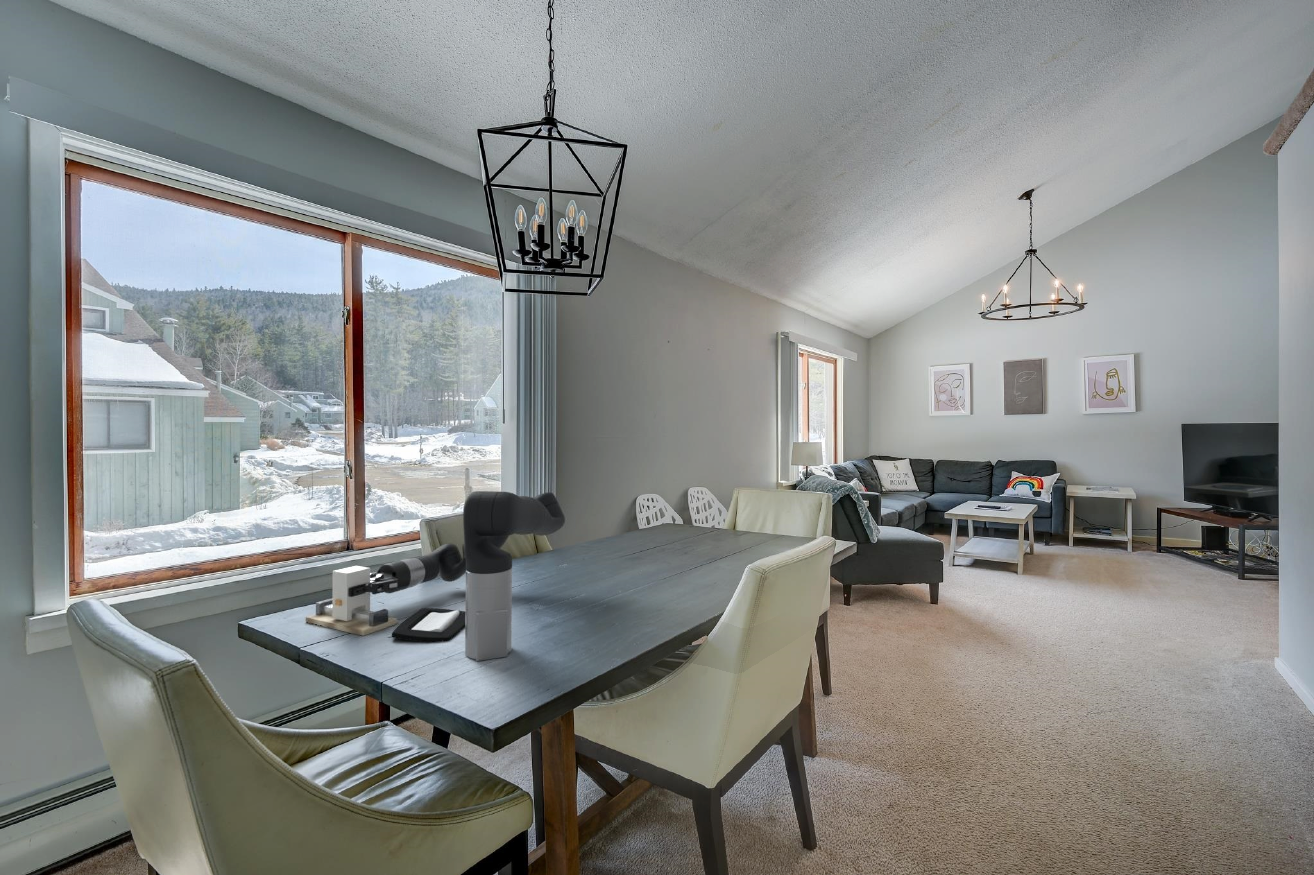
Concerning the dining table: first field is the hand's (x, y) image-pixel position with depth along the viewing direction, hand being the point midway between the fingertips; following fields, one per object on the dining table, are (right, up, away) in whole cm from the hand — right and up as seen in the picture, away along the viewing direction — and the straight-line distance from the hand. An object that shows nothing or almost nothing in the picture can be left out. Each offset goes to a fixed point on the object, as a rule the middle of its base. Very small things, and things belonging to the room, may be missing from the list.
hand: (341, 591), depth 134 cm
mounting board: (+1, -8, +2) cm, 9 cm away
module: (+1, -6, +2) cm, 7 cm away
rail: (+1, -7, +2) cm, 8 cm away
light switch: (+22, -9, 0) cm, 23 cm away
